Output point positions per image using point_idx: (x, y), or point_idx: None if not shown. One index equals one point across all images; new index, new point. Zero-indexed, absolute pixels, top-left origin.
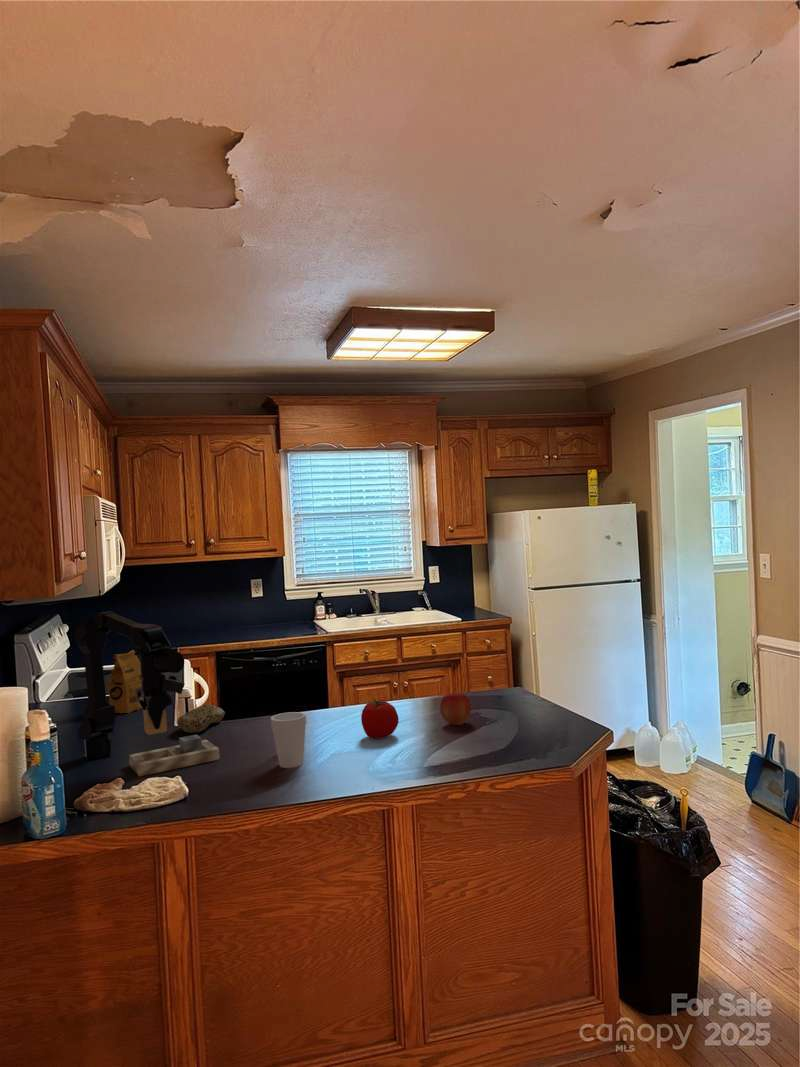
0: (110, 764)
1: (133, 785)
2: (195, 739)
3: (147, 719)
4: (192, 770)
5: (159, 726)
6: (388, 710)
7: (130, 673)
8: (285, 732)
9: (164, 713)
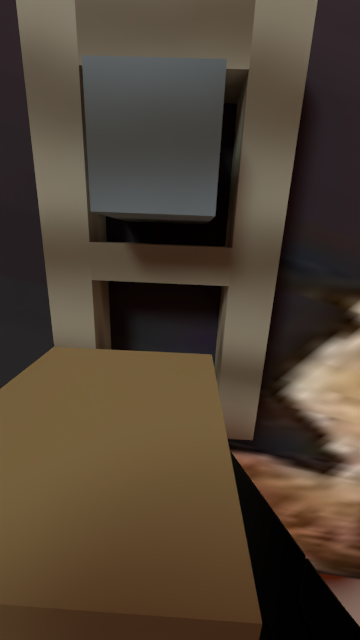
0: None
1: (324, 446)
2: (221, 118)
3: None
4: (346, 235)
5: (231, 456)
6: None
7: None
8: None
9: (240, 543)
